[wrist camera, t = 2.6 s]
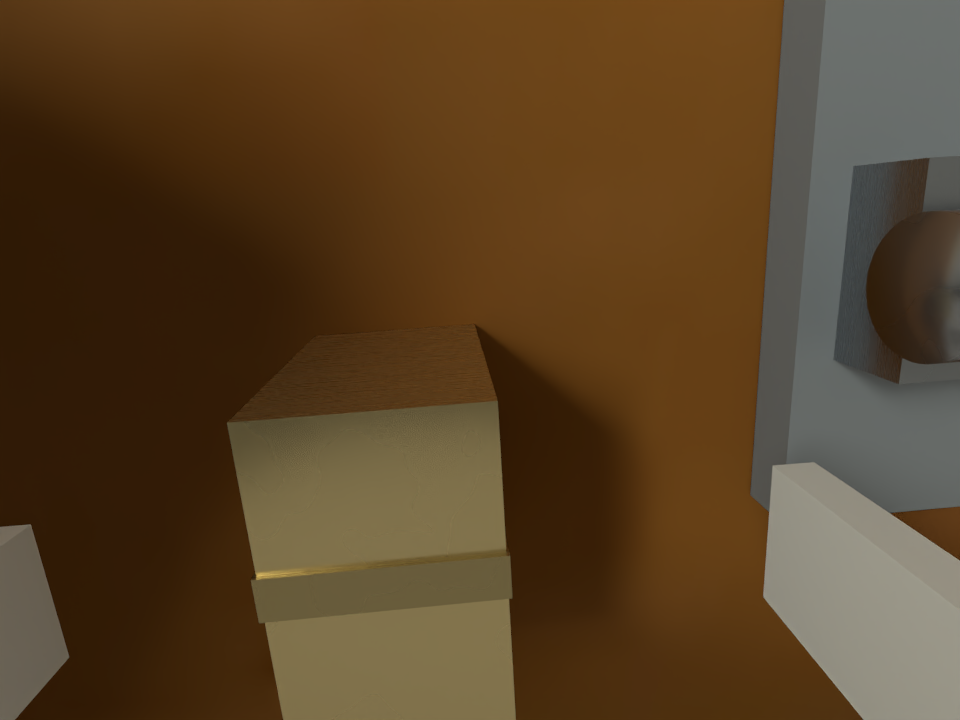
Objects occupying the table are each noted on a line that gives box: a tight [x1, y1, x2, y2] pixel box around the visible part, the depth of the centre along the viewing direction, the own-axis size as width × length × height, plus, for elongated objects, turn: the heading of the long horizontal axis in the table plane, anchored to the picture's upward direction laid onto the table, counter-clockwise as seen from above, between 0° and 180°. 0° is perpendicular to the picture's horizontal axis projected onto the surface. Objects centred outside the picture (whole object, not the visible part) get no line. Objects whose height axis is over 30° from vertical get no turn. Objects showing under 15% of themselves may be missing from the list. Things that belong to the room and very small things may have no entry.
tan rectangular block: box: [227, 324, 516, 720], centre depth 12 cm, size 6×4×6 cm
